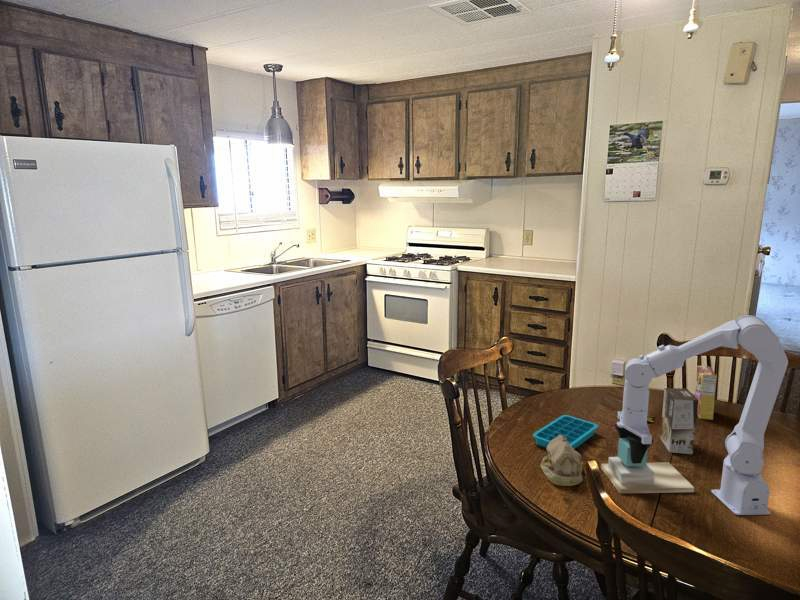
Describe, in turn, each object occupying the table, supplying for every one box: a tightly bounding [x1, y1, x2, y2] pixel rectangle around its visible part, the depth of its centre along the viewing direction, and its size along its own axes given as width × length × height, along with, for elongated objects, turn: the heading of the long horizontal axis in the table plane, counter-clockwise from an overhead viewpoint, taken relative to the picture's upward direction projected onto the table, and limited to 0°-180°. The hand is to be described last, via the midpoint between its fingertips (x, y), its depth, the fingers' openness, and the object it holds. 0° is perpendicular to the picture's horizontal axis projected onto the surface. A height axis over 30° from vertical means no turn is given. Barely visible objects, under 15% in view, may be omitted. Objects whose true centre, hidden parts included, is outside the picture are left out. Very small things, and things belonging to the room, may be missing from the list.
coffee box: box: [659, 387, 699, 455], centre depth 144 cm, size 9×6×16 cm
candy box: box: [694, 365, 718, 421], centre depth 164 cm, size 9×4×15 cm, turn 160°
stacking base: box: [600, 456, 695, 494], centre depth 128 cm, size 12×18×4 cm, turn 90°
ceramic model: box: [539, 435, 584, 487], centre depth 132 cm, size 14×11×10 cm
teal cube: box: [617, 437, 649, 466], centre depth 127 cm, size 5×5×5 cm
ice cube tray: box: [532, 414, 599, 450], centre depth 151 cm, size 12×20×3 cm, turn 134°
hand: (631, 456), depth 128 cm, fingers closed on teal cube, 5 cm apart
